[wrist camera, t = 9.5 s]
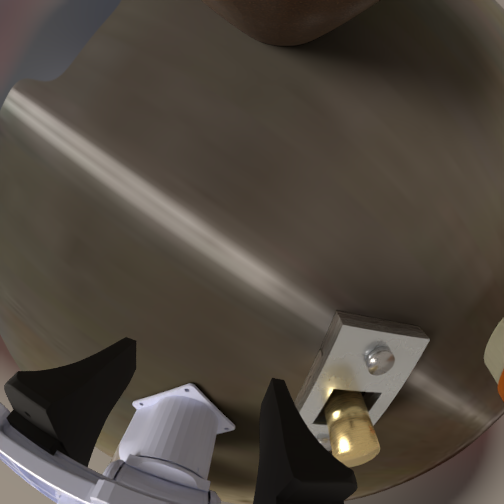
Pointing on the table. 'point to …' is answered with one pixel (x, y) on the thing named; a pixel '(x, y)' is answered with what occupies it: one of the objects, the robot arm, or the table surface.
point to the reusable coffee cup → (496, 356)
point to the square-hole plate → (359, 366)
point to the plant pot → (288, 17)
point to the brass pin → (350, 428)
